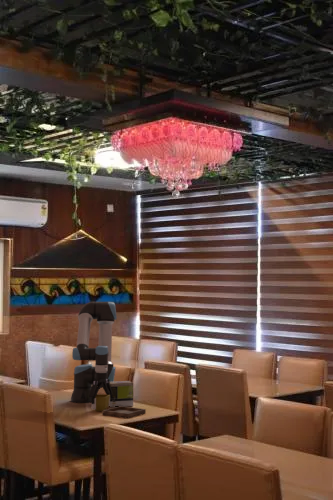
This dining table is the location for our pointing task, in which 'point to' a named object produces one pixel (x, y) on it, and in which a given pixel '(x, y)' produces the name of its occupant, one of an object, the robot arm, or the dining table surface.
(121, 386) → the tea box
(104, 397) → the flower pot
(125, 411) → the walnut tray
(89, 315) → the robot arm
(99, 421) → the dining table surface
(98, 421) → the dining table surface
